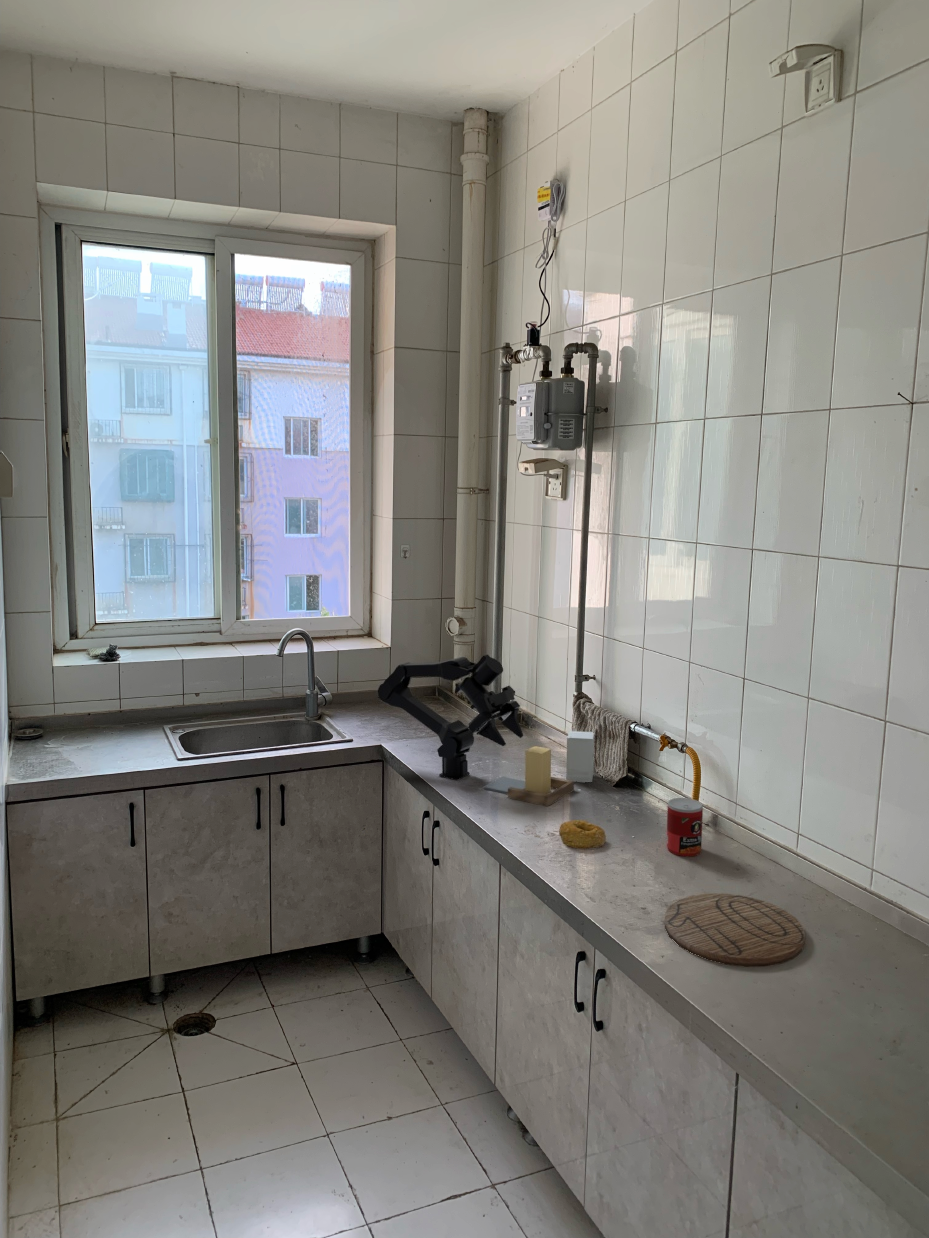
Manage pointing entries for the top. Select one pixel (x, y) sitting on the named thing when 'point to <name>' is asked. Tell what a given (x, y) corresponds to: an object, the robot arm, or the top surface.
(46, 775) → the top surface
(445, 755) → the robot arm
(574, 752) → the supplement box
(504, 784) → the slate mat
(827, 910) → the top surface
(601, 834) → the bagel
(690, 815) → the canned food
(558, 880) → the top surface
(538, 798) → the frame
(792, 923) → the trivet
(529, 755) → the ochre block
